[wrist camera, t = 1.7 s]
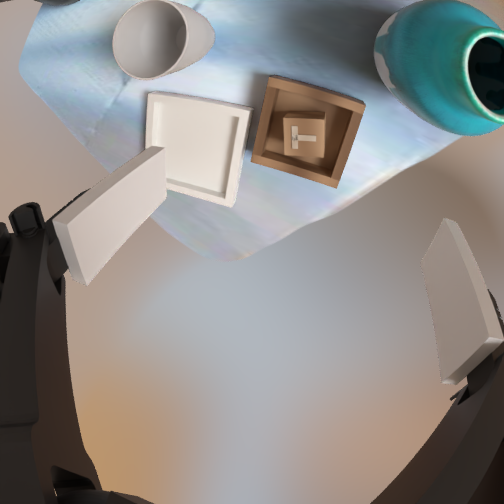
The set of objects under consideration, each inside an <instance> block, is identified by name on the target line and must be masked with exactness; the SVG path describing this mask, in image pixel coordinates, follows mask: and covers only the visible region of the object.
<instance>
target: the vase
mask: <svg viewBox="0 0 504 504" xmlns="http://www.w3.org/2000/svg"><path fill="white" fill-rule="evenodd" d="M374 59H375V64H376V68H377V71H378V73H379V75H380V77H381V79H382V81H383V82H384V84H385V86H386V87H387V88H388V90H389V91H390V92H391V93H392V94H393V96H394V97H395V98H396V99H397V100H398V101H399V102H400V103H402V104H403V105H404V106H405V107H406V108H407V109H409V110H410V111H412V112H413V113H414V114H416V115H417V116H418V117H420V118H421V119H423V120H424V121H426V122H428V123H430V124H431V125H433V126H435V127H437V128H440V129H442V130H445V131H447V132H450V133H454V134H458V135H464V136H478V135H483V134H487V133H490V132H492V131H494V130H496V129H498V128H499V127H501V126H502V125H503V124H504V31H502V30H501V29H500V28H499V26H498V25H497V24H496V23H495V22H494V21H492V20H491V19H490V18H489V17H488V16H487V15H485V14H484V13H483V12H481V11H480V10H478V9H476V8H474V7H472V6H471V5H468V4H466V3H463V2H460V1H456V0H423V1H419V2H415V3H413V4H411V5H408V6H406V7H404V8H402V9H400V10H399V11H397V12H396V13H395V14H393V15H392V16H390V17H389V18H388V19H387V21H386V22H385V23H384V24H383V25H382V27H381V28H380V30H379V32H378V34H377V37H376V40H375V45H374Z"/></svg>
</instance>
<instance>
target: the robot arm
mask: <svg viewBox="0 0 504 504" xmlns="http://www.w3.org/2000/svg"><path fill="white" fill-rule="evenodd" d="M5 1H11V0H0V2H5ZM35 1H38V2H41V3H45V4H48V5H53V6H59V5H69V4H73V3H75V2H77V1H79V0H35ZM166 198H167V187H166V148H165V147H158V146H151V147H149V148H147V149H146V150H144V151H143V152H141V153H140V154H138V155H137V156H135V157H134V158H132V159H131V160H129V161H128V162H126V163H125V164H124V165H122V166H121V167H119V168H118V169H116V170H115V171H114V172H112V173H111V174H109V175H108V176H107V177H105V178H104V179H103V180H101V181H100V182H99V183H97V184H96V185H95V186H93V187H92V188H90V189H88V190H86V191H84V192H82V193H80V194H79V195H78V196H76V197H75V198H74V199H73V201H70V202H69V203H68V204H67V205H66V206H64V207H63V208H62V209H60V210H59V211H58V212H57V213H56V214H54V215H53V216H52V217H51V218H50V219H49V220H47V221H46V222H44V218H43V215H42V212H41V208H40V205H39V204H38V203H35V202H31V203H26V204H23V205H21V206H19V207H17V208H16V209H14V211H12V212H11V213H10V215H9V220H10V223H11V226H12V228H13V231H14V233H9V232H8V230H7V227H6V224H5V223H3V222H0V504H154V503H151V502H149V501H147V500H144V499H142V498H140V497H138V496H133V495H128V494H123V493H118V492H114V491H110V492H109V491H103V490H102V488H101V484H100V481H99V479H98V475H97V472H96V469H95V466H94V464H93V462H92V460H91V459H90V457H89V456H88V454H87V453H86V451H85V448H84V445H83V442H82V438H81V433H80V428H79V423H78V418H77V413H76V408H75V402H74V396H73V389H72V382H71V375H70V366H69V357H68V346H67V331H66V306H65V305H66V304H65V277H64V275H63V274H64V273H65V272H66V270H67V269H69V272H70V274H71V277H72V279H73V280H74V281H76V282H79V283H81V284H83V285H86V286H87V285H88V284H89V283H90V281H92V279H93V278H94V277H95V276H96V275H97V273H98V272H99V271H100V270H101V269H102V267H103V266H104V265H105V264H106V263H107V262H108V261H109V259H110V258H111V257H112V256H113V255H114V253H115V252H116V251H117V250H118V249H119V248H120V247H121V246H122V245H123V244H124V242H125V241H126V240H127V239H128V238H129V237H130V236H131V235H132V234H133V233H134V231H135V230H136V229H137V228H138V227H139V226H140V225H141V224H142V223H143V222H144V221H145V220H146V218H148V217H149V216H150V215H151V213H152V212H153V211H154V210H155V209H156V208H157V207H158V206H159V205H160V204H161V203H162V202H163V201H164V200H165V199H166ZM420 264H421V269H422V273H423V276H424V280H425V285H426V290H427V294H428V298H429V304H430V309H431V313H432V319H433V325H434V331H435V337H436V344H437V351H438V358H439V367H440V376H441V383H447V384H455V385H456V384H458V383H459V382H460V381H461V380H462V379H464V378H465V377H466V376H467V381H468V384H467V385H466V386H465V387H463V388H462V389H461V390H460V391H458V392H457V393H456V394H455V395H453V396H452V397H451V398H450V400H451V401H452V400H453V399H454V398H456V400H455V401H454V403H453V404H452V406H451V407H450V409H449V410H448V412H447V413H446V415H445V416H444V418H443V419H442V421H441V422H440V424H439V425H438V426H437V428H436V429H435V431H434V432H433V433H432V435H431V436H430V437H429V439H428V440H427V441H426V443H425V444H424V445H423V446H422V448H421V449H420V450H419V451H418V453H417V454H416V455H415V456H414V458H413V459H412V460H411V461H410V462H409V464H408V465H407V466H406V467H405V468H404V469H403V471H401V473H400V474H399V475H398V476H397V477H396V478H395V479H394V480H393V481H392V482H391V484H389V486H388V487H387V488H386V489H385V490H384V491H383V492H382V493H381V494H380V495H379V496H378V497H377V498H376V499H375V500H374V501H373V502H371V503H370V504H504V324H503V320H501V315H500V312H499V311H498V310H499V309H498V306H497V304H496V301H495V299H494V297H493V295H492V294H491V292H490V291H489V289H487V287H486V285H485V282H484V280H483V277H482V275H481V272H480V270H479V268H478V265H477V263H476V261H475V259H474V257H473V254H472V252H471V250H470V248H469V246H468V244H467V242H466V239H465V237H464V235H463V233H462V232H461V229H460V227H459V226H458V224H457V222H455V221H452V220H449V219H446V218H444V219H443V221H442V223H441V225H440V227H439V229H438V231H437V233H436V235H435V237H434V238H433V240H432V242H431V244H430V246H429V248H428V250H427V252H426V253H425V255H424V257H423V259H422V261H421V262H420ZM54 489H55V491H56V494H57V496H56V494H55V491H54Z"/></svg>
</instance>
